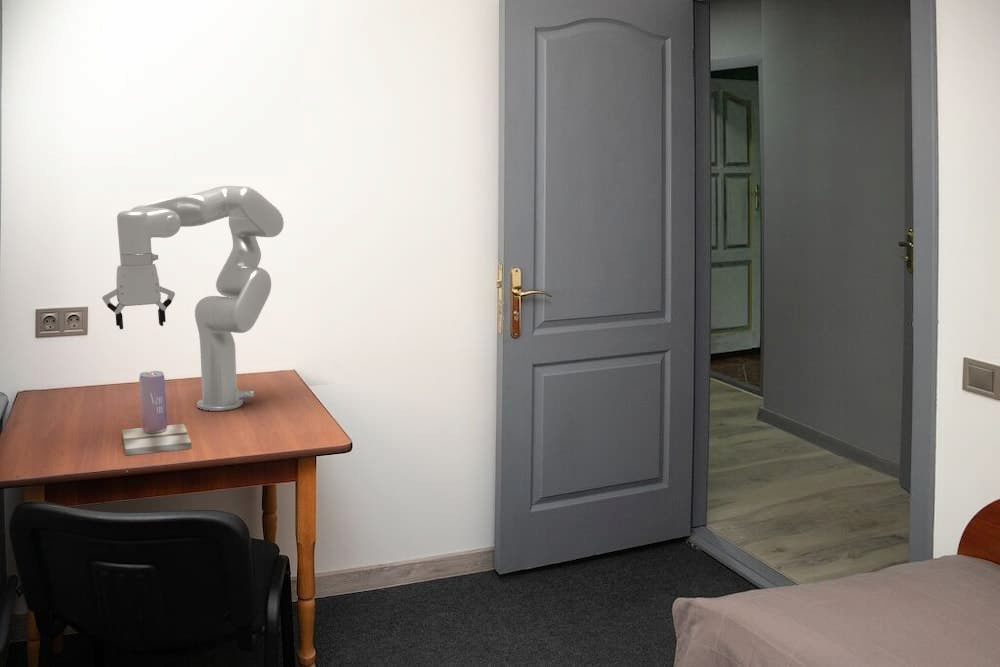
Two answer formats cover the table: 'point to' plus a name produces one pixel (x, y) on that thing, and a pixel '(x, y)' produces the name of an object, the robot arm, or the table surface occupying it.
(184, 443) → the floorboard
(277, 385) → the table surface
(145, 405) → the beverage can
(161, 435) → the plank
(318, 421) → the table surface
